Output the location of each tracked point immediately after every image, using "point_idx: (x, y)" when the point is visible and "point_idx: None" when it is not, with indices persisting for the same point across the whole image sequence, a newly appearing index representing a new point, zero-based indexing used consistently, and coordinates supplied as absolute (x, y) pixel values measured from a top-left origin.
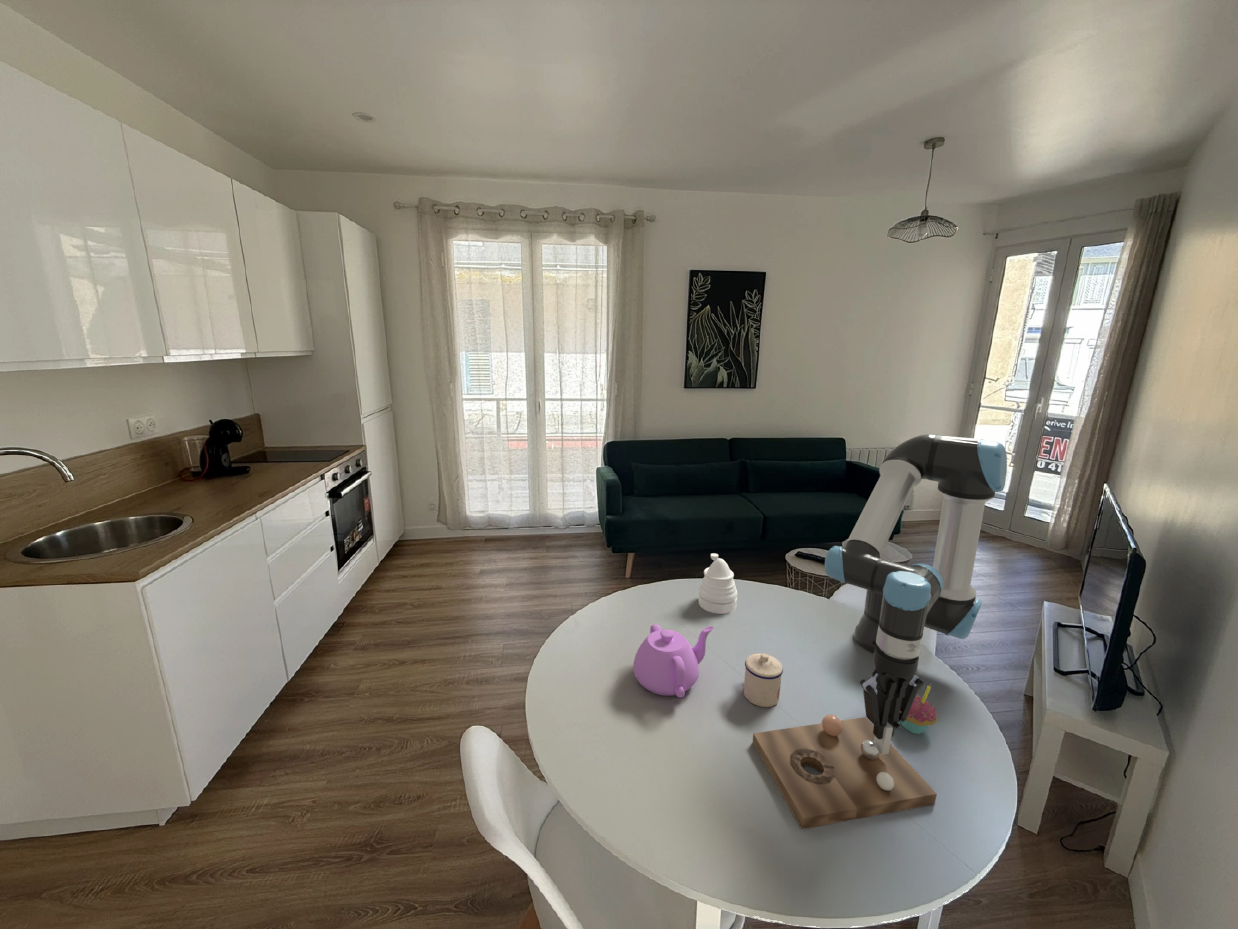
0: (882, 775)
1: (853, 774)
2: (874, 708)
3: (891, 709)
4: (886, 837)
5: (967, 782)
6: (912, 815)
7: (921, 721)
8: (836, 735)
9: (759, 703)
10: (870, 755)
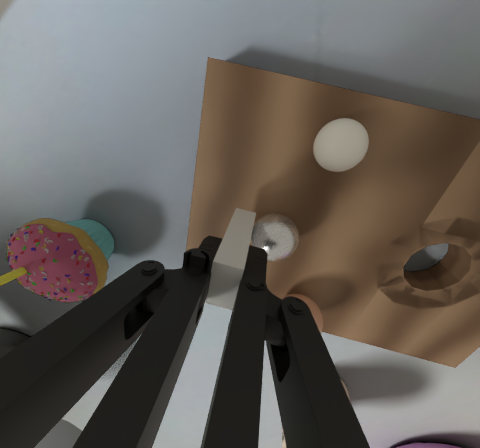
0: (357, 154)
1: (368, 208)
2: (352, 439)
3: (184, 343)
4: (448, 37)
5: (82, 81)
6: (305, 64)
7: (69, 235)
8: (304, 296)
9: (343, 386)
10: (293, 224)
